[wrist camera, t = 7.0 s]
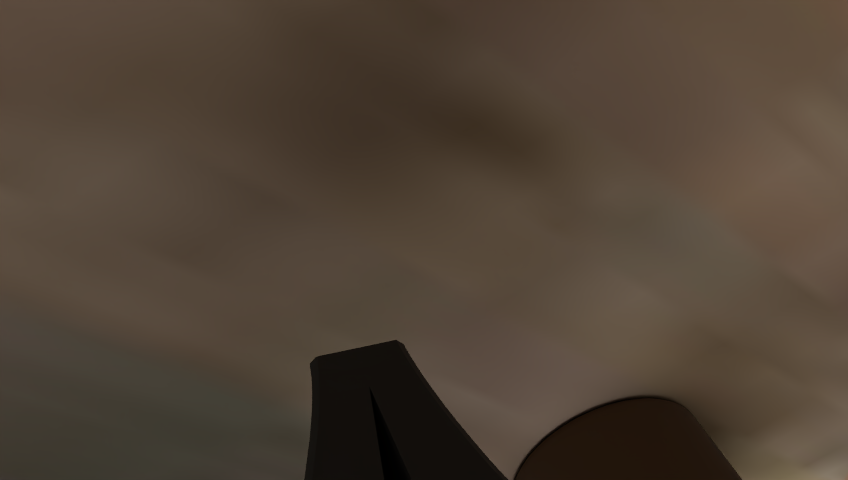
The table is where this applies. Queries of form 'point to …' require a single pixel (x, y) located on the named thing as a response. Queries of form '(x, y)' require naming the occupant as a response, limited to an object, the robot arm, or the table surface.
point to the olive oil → (629, 446)
